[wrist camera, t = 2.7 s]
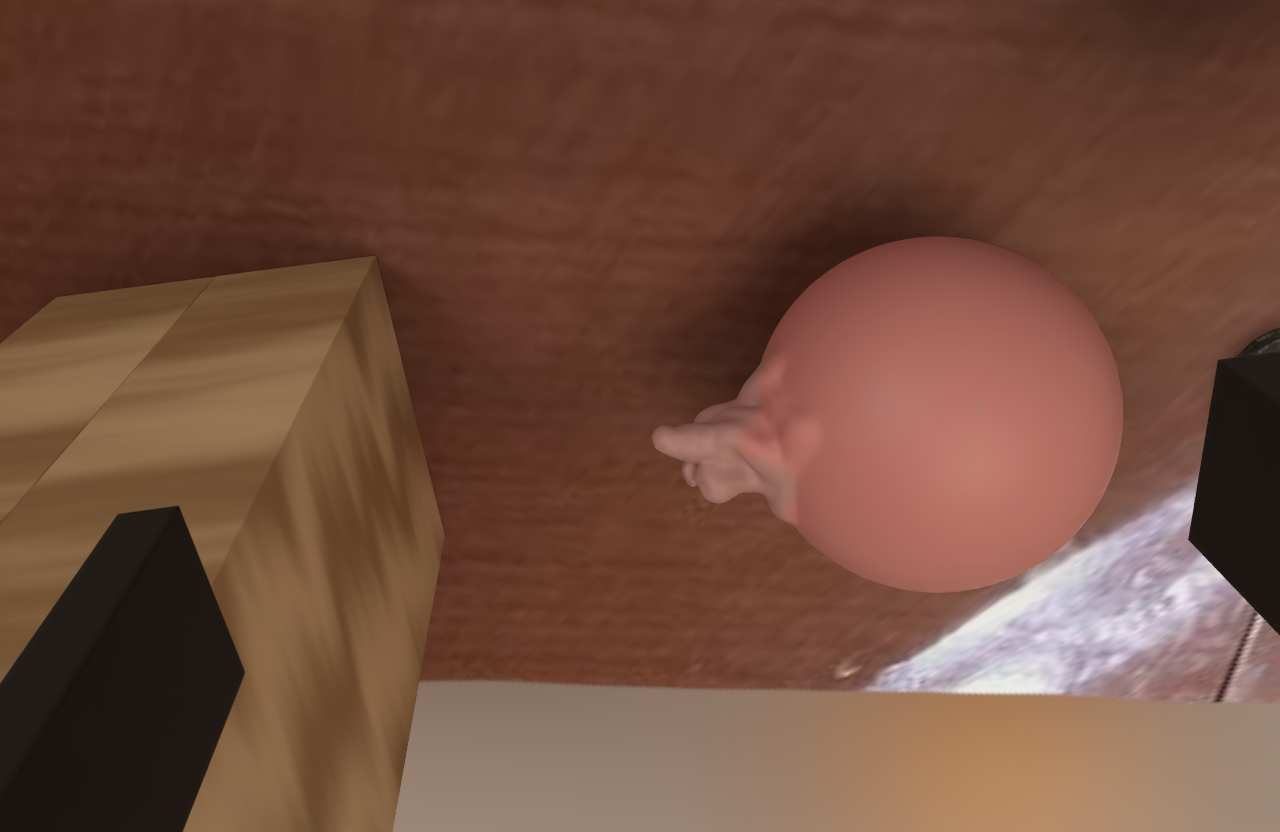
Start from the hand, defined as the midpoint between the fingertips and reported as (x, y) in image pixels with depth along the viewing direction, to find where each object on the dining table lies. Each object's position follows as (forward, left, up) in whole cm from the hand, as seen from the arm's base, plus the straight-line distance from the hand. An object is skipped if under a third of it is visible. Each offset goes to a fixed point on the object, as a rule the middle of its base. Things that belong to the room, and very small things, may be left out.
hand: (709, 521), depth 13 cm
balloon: (+12, +12, -36) cm, 40 cm away
